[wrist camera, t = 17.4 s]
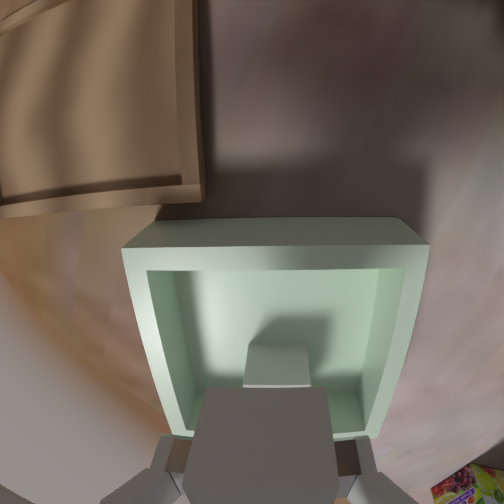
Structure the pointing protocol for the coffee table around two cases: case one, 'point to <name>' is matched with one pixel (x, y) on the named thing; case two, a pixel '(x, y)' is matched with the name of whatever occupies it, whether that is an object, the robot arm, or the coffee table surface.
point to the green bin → (278, 306)
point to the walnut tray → (100, 106)
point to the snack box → (471, 487)
